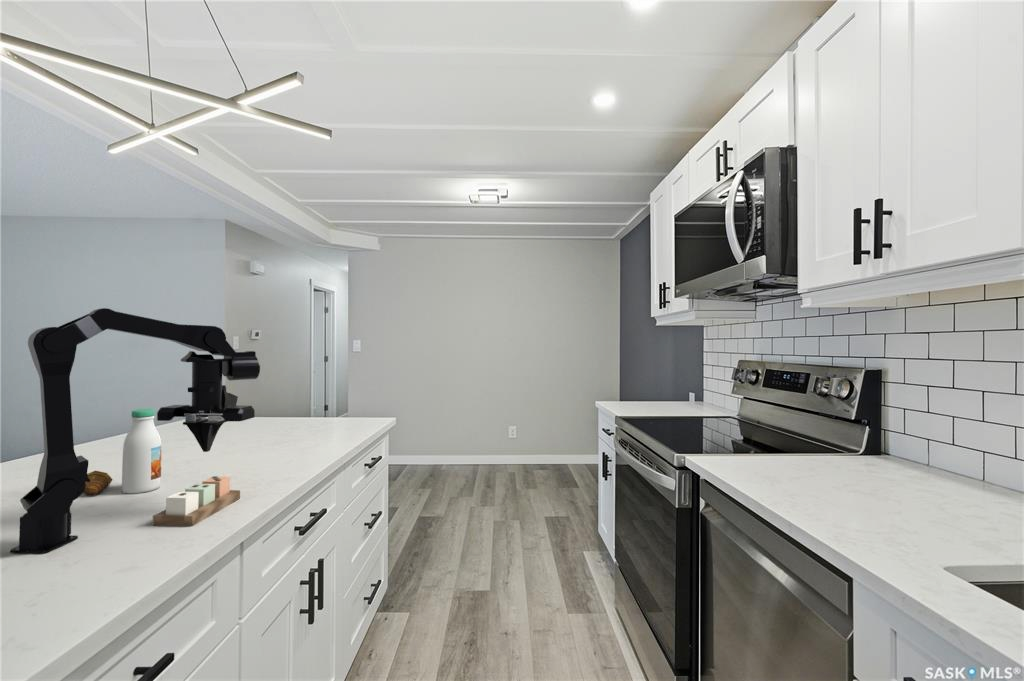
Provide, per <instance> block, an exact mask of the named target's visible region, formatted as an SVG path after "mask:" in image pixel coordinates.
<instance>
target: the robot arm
mask: <svg viewBox="0 0 1024 681" xmlns="http://www.w3.org/2000/svg"><path fill="white" fill-rule="evenodd" d="M106 330H109V331H116V332H121V333H125V334H126V333H127V334H133V335H138V336H143V337H148V338H153V339H158V340H159V339H160V340H165V341H170V342H173V343H176V344H178V345H181V346H183V347H186V348H189V349H192V350H191V351H190V350H189V351H188V353H187V354H186V355H184V356H183V357H182V358H181V359H180V361H181V362H184V363H191V386H190V387H187V393H191V405H190V404H173V405H172V404H171V405H167V406H162V407H160V408H159V409H158V410H157V412H156V421H158V422H159V421H160V422H162V421H163V422H168V421H172V420H173V419H174V418H180V417H181V418H185V420H184V421H183V422H182V425H183V426H187V428H188V430H189V431H190V432H191V433H192V434H193V436H194V437H195V440H196V441H197V443H198V445H199V447H200V449H201V450H202V452H204V453H208V452H210V450H211V449H212V446H213V443H214V441H215V439H216V436H217V434H218V432H219V430H220V429H221V427H222V425H224V423H228V422H243V421H247V420H251V419H253V418H255V413H256V412H255V409H254V407H253V406H252V405H238V404H237V402H238V398H239V396H237V395H235V394H233V393H230V392H227V387H226V384H223V377H226V379H227V380H228V381H230V382H231V381H244V380H245V381H246V380H247V381H249V380H256V379H258V378H259V376H260V371H261V364H260V363H259V359H258V357H257V355H256V351H255V350H249V351H248V350H245V351H236V350H235V349H234V348H233V347H232V346H231V344H230V343H229V342H228V341H227V336H226V333H225V331H224V330H223V329H222V328H221V327H218V326H215V325H202V324H200V325H197V324H179V323H175V322H171V321H170V322H169V321H163V320H159V319H156V318H155V319H154V318H150V317H146V316H145V317H144V316H140V315H135V314H131V313H130V314H129V313H124V312H120V311H115V310H113V309H110V308H106V307H105V308H103V307H102V308H97V309H93V310H91V311H90V313H87V314H84V315H83V316H80V317H78V318H76V319H73V320H71V321H69V322H66V323H64V324H61V325H59V326H48V327H41V328H39V329H36V330H35V331H34V332H32V333H31V334H30V335H29V337H28V339H27V347H28V349H29V352H30V355H31V359H32V362H33V364H34V365H33V366H34V367H35V369H36V371H37V375H38V377H39V386H40V387H39V389H40V403H41V405H40V406H41V418H42V433H43V448H44V449H43V451H44V452H43V456H42V460H41V462H40V467H39V471H38V476H37V483H36V486H34V487H33V488H32V489H31V490H29V491H28V493H26V494H25V495H24V496H22V498H20V500H19V501H20V503H21V505H22V507H23V509H24V510H25V511H26V512H25V513H23V515H21V516H20V517H19V529H18V530H19V538H18V546H14V547H12V548H10V549H9V553H18V554H19V553H21V554H22V553H23V554H25V553H26V554H28V553H29V554H30V553H32V554H44V553H48V552H51V551H53V550H55V549H57V548H60V547H63V546H64V545H66V544H69V543H71V542H73V541H75V540H77V539H79V535H71V534H72V513H71V506H72V504H73V503H74V501H75V500H77V499H78V498H80V496H81V495H83V494H84V493H83V492H84V490H85V486H86V483H85V482H90V479H89V478H88V475H87V474H88V470H89V460H88V459H87V458H86V457H84V456H83V455H76V452H75V447H74V430H73V411H72V397H71V396H72V395H71V394H72V393H71V381H70V380H71V379H70V376H71V372H72V369H73V366H74V363H75V359H76V353H77V347H78V345H80V344H81V343H84V342H85V341H87V340H89V339H91V338H93V337H94V336H97V335H98V334H100V333H102V332H104V331H106ZM193 350H195V351H197V352H207V354H206V353H203V354H197V353H196V352H195V351H193ZM208 353H209V354H208ZM214 356H221V357H223V358H214Z"/></svg>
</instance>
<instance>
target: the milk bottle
mask: <svg viewBox="0 0 1024 681" xmlns="http://www.w3.org/2000/svg"><path fill="white" fill-rule="evenodd" d="M155 411H156V410H155V409H153V408H142V409H141V408H139V409H134V410H132V411H131V420H132V423H131V426H130V429H129V431H128V433H127V434H126V436H125V439H124V442H123V446H122V462H121V463H122V466H121V471H122V472H121V490H122V492H123V493H124V494H140V493H141V494H142V493H148V492H152V491H154V490H157V489H160V487H161V484H162V440H161V436H160V433H159V431H158V429H157V427H156V425H155V421H154V419H155V418H156V417H155V414H156V412H155Z"/></svg>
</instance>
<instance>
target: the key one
mask: <svg viewBox="0 0 1024 681" xmlns="http://www.w3.org/2000/svg"><path fill="white" fill-rule="evenodd" d="M198 496H199V492H185V491H179V492H177V493H174V494H171V495H170V496H167V497H165V498H166V499H165V510H166V515H187V514H189V513H191V512H193V511H195V510H197V509H198Z"/></svg>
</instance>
